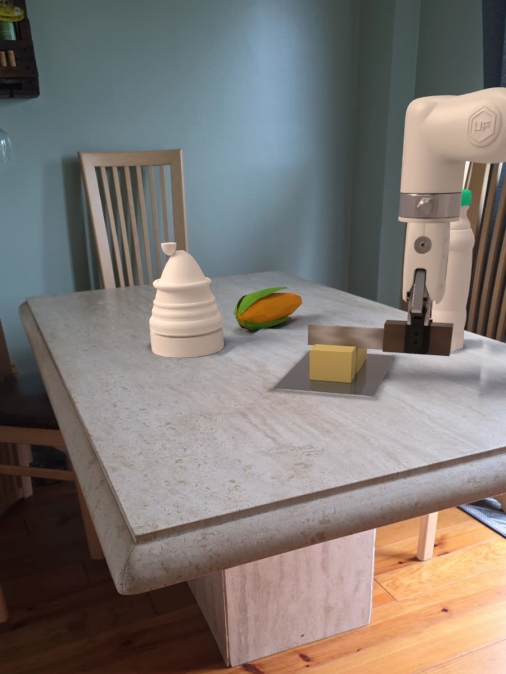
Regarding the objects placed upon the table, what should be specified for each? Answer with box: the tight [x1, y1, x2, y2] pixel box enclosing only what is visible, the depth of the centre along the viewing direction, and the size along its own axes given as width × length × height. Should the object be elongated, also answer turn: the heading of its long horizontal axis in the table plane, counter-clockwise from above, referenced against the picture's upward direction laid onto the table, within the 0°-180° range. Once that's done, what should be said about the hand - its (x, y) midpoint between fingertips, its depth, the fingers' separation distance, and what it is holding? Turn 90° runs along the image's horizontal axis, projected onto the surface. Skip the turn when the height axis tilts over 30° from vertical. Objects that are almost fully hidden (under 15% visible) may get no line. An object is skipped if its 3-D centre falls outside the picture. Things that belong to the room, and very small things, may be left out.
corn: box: [233, 286, 303, 331], centre depth 124 cm, size 7×8×20 cm
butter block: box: [355, 348, 368, 374], centre depth 95 cm, size 6×8×4 cm
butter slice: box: [309, 344, 356, 383], centre depth 89 cm, size 6×3×4 cm, turn 71°
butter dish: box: [273, 350, 396, 397], centre depth 93 cm, size 14×20×1 cm
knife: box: [307, 319, 454, 357], centre depth 87 cm, size 20×2×4 cm, turn 71°
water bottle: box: [431, 188, 476, 351], centre depth 99 cm, size 7×7×25 cm
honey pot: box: [148, 241, 225, 359], centre depth 107 cm, size 13×13×18 cm
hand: (417, 349), depth 86 cm, fingers closed on knife, 2 cm apart
